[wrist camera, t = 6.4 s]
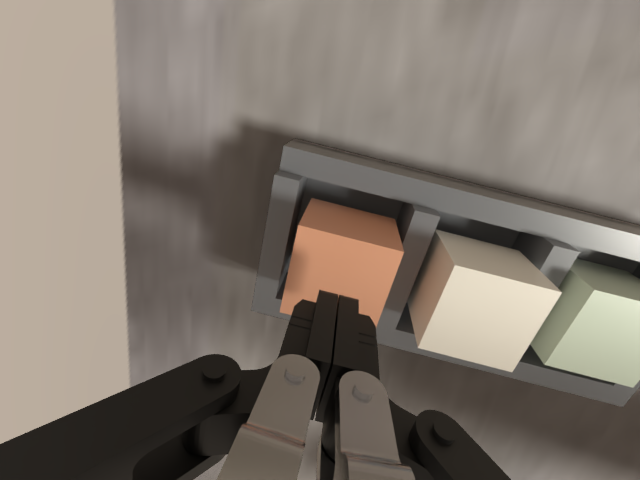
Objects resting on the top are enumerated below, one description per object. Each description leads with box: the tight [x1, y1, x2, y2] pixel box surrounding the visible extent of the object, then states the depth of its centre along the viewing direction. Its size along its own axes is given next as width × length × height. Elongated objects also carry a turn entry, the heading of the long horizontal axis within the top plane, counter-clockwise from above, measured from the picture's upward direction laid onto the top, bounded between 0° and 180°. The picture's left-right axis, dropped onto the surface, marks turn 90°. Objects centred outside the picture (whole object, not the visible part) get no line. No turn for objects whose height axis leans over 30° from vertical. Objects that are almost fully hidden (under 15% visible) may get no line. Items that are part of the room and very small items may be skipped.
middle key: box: [407, 230, 562, 372], centre depth 16 cm, size 4×4×4 cm
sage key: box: [530, 258, 640, 388], centre depth 17 cm, size 4×4×4 cm
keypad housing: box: [251, 139, 640, 407], centre depth 18 cm, size 21×9×4 cm, turn 77°
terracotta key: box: [280, 198, 404, 327], centre depth 16 cm, size 4×4×4 cm
